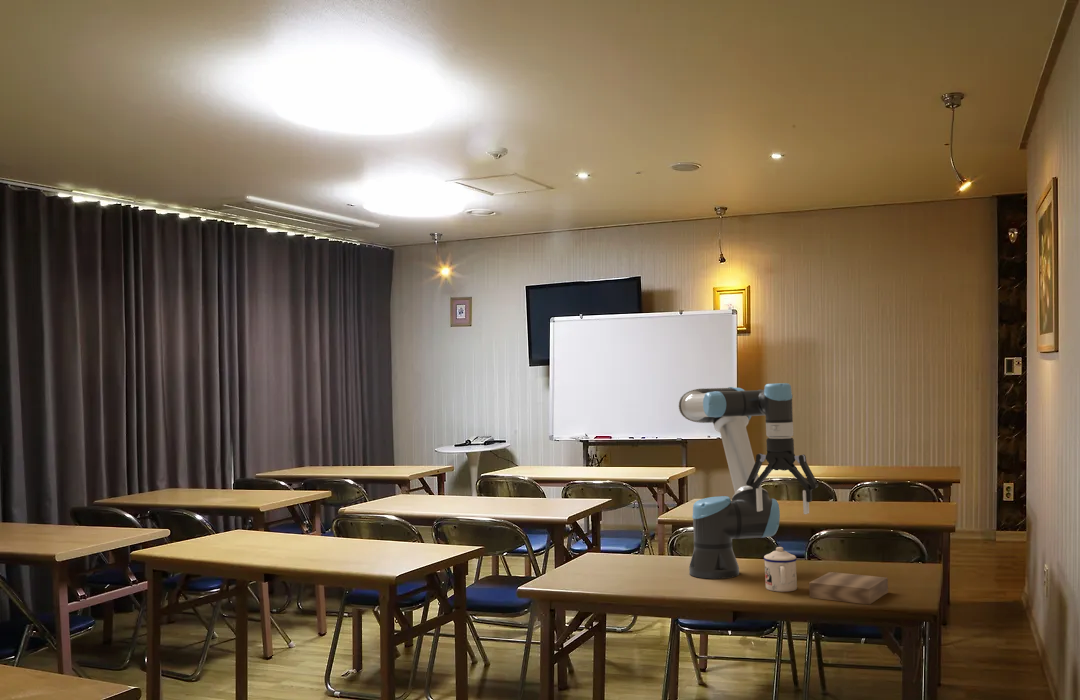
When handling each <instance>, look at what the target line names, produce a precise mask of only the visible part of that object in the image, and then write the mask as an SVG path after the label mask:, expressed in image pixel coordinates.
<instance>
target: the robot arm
mask: <svg viewBox="0 0 1080 700" xmlns="http://www.w3.org/2000/svg"><path fill="white" fill-rule="evenodd" d="M792 393H793V391H792V386H791V384H790V383H789V382H788V383H787V382H785V383H784V382H782V383H779V382H778V383H766V384H765V385H764V389H758V390H754V389H752V390H745V389H743V388H741V387H734V386H729V387H716V388H715V387H714V388H713V387H712V388H710V387H709V388H695V389H691V390H689V391H687V392H685V393H684V394H683V395H682V396H681V397H680V399H679V402H678V411H679V413H680V415H682V417H683V418H684V419H686V420H688V421H691V422H694V423H698V424H699V423H701V424H707V423H708V424H709V423H712V424H713V428H714V430H715V431H717V432H718V433H719V434H720V437H721V441H722V442H721V443H722V445H723V446H722V447H723V449H724V454H725V458H726V459H725V460H726V462H727V465H728V466H727V467H728V470H729V474H730V479H731V483H732V487H733V490H734V494H733V495H732V497H730V496H727V495H726V496H725V495H721V496H711V497H706V498H700V499H698V500H697V501H695V502H694V503H693V506H692V515H691V517H692V524H693V553H692V556H691V560H690V563H689V567H688V568H689V569H688V571H689V575H690V576H693V577H695V578H699V579H700V578H701V579H712V580H713V579H714V580H715V579H730V578H731V579H732V578H734V577H737V576H739V575H740V566H739V563H738V560H737V557H736V555H735V553H734V550H733V539H734V540H737V539H754V538H755V539H758V538H760V539H762V538H763V539H764V538H769V537H773V536H775V535H776V534H777V531H778V529H779V526H780V520H781V518H780V516H781V513H780V512H781V511H780V510H781V509H780V506H779V505H780V504H779V502H778V500H777V499H775V498H770V495H769V492H768V490H766V489H765V488H763V487H762V484H763V482H764V481H765V480H766V478H767V477H768V476H769V475H770V474H771V472H772V471H773V470H774V471H779V470H780V471H783V472H784V471H789V472H790V473H791V474H792V475H793V476H794V478H795V479H796V480H797V481H798V482H799V484H800V485H801V486H802V487H803V488H804V489H803V490H802V508H803V511H802V512H803V515H808V514H810V503H811V502H813V501H812V500H813V490H814V489H817V488H818V487H819V483H818V482H817V479H816V478H815V476H814V473H813V471H812V470H811V468H810V466H809V465H808V462H807V457H806V454H799V455H795V440H794V438H793V436H794V421H793V417H794V416H793V394H792ZM758 416H761V417H762V416H765V433H766V434H765V435H766V437H767V438H766V439H765V440H766V454H763V453H757V454H756V455H755V458H754V453H753V450H752V445H751V442H750V438H749V433H748V430H747V426H748V425H749V422H750V420H751V418H752V417H758ZM765 460H766V461H767V463H768V464H767V466H766V467H765V469H764V470H763V471H762V472H761V473H760V475H759V472H760V469H761V467H762V465H763V462H765ZM795 461H796V462H797V464H799V466H800V467H801V469H802V471H803V473H804V475H805V476H804V475H803V474H802V473H801V472H800V470H798V468H797V466H796V465H795ZM805 477H806V478H807V479H806V478H805Z"/></svg>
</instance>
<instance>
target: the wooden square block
mask: <svg viewBox="0 0 1080 700" xmlns="http://www.w3.org/2000/svg"><path fill="white" fill-rule="evenodd" d="M808 583H809V584H808V585H809V587H808V588H809V598H812V599H821V600H829V601H836V602H837V601H838V602H844V603H845V602H846V603H852V604H853V603H854V604H863V605H871V604H872V603H874V602H876V601H877V600H878V599H881V598H882V597H884V596H885V595H887V594H888V593H889V584H888V583H889V582H888V577H886V576H885V577H884V576H883V577H882V576H874V575H867V574H866V575H865V574H854V573H853V574H852V573H847V572H846V573H845V572H844V573H843V572H832V571H829V572H827V573H825V574H823V575H821V576H818V577H817V578H815V579H813V580H811V581H809V582H808Z"/></svg>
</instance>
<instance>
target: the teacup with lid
mask: <svg viewBox="0 0 1080 700" xmlns="http://www.w3.org/2000/svg"><path fill="white" fill-rule="evenodd" d="M763 560H764V576H765V577H764V578H765V579H764V583H765V589H766V590H768V591H771V592H778V593H779V592H780V593H786V592H793V591H796V590H797V589H798V584H797V582H798V581H797V576H798V575H797V556H796V555H795V554H791V553H789V552H788V551H786V550H784V547H782V546H777V547H776V548H775V550H773V551H772V552H770V553H766V554H765V555H764V556H763Z"/></svg>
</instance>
